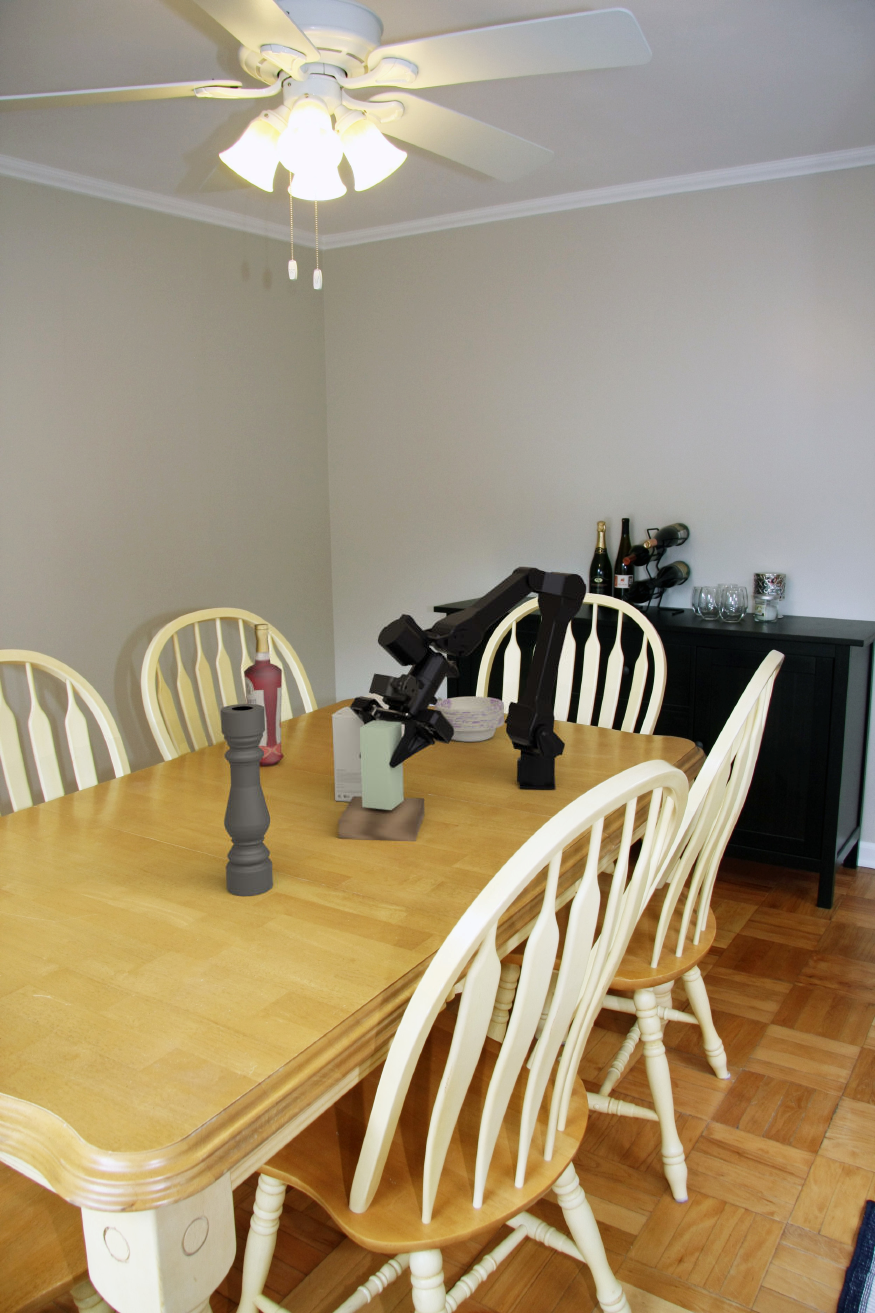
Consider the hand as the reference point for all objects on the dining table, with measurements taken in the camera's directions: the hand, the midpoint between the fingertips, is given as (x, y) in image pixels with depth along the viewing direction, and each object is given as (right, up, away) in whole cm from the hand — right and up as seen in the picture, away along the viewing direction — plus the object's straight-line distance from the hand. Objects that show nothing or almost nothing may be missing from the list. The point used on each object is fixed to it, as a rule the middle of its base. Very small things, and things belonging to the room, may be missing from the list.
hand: (376, 762), depth 151 cm
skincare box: (-5, -8, +19) cm, 21 cm away
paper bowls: (+17, -1, +59) cm, 62 cm away
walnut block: (+1, -11, +3) cm, 11 cm away
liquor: (-24, -5, +40) cm, 47 cm away
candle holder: (-16, -15, -20) cm, 30 cm away
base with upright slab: (-1, -4, +46) cm, 46 cm away
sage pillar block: (+1, -7, +2) cm, 7 cm away
